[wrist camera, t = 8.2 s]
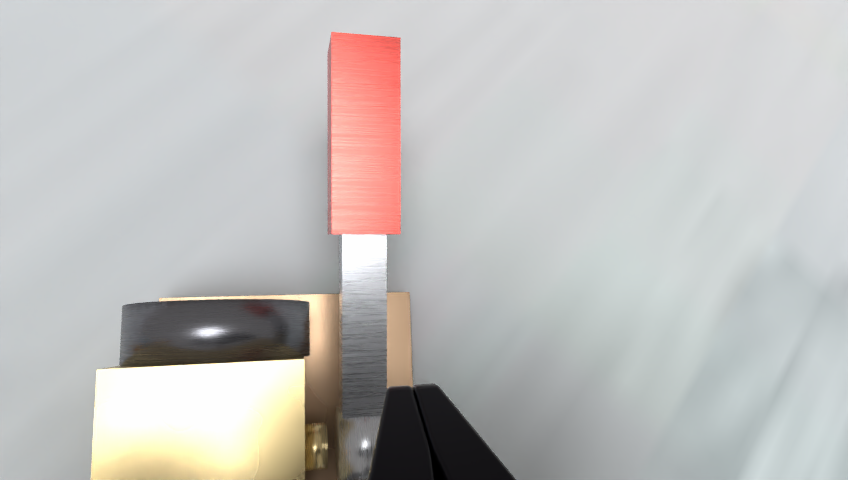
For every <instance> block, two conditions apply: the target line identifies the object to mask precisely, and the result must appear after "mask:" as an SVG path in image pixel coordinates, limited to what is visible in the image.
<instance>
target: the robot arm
mask: <svg viewBox="0 0 848 480" xmlns="http://www.w3.org/2000/svg"><path fill="white" fill-rule="evenodd" d="M368 480H516V479H515V478H514V477H513V475H512V474H511V473H510V472H509V471H508V469H507V468H506V467H505V466H504V465H503V463H502V462H501V461H500V460H499V458H498V457H497V456H496V455H495V454H494V452H493V451H492V450H491V449H490V448H489V446H488V445H487V444H486V443H485V442H484V440H483V439H482V438H481V437H480V436H479V434H478V433H477V432H476V431H475V430H474V428H473V427H472V426H471V425H470V424H469V422H468V421H467V420H466V419H465V417H464V416H463V415H462V414H461V413H460V411H459V410H458V409H457V408H456V407H455V405H454V404H453V403H452V402H451V401H450V399H449V398H448V397H447V396H446V395H445V393H444V392H443V391H442V390H441V389H440V387H439V386H437V385H435V384H421V385H414V386H413V387H412V388H411V387H410V386H408V385H405V386H391V387H388V389H387V391H386V395H385V400H384V405H383V410H382V414H381V419H380V424H379V428H378V433H377V438H376V443H375V447H374V452H373V457H372V462H371V466H370V471H369V476H368Z"/></svg>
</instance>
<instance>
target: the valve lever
mask: <svg viewBox="0 0 848 480" xmlns="http://www.w3.org/2000/svg"><path fill="white" fill-rule="evenodd" d="M328 234H339V313H340V406H339V407H336V412H335V457H336V472H337V480H368V476H369V471H370V466H371V462H372V457H373V452H374V447H375V443H376V438H377V433H378V428H379V424H380V419H381V414H382V410H383V405H384V400H385V395H386V391H387V234H400V38H397V37H385V36H373V35H361V34H349V33H337V32H331V38H330V44H329V50H328Z"/></svg>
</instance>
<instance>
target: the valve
mask: <svg viewBox="0 0 848 480" xmlns="http://www.w3.org/2000/svg"><path fill="white" fill-rule="evenodd" d="M119 365H120V366H115V367H109V368H103V369H97V375H96V393H95V411H94V429H93V447H92V465H91V480H337V472H336V457H335V412H336V407H339V406H340V313H339V294H310V295H269V296H227V297H186V298H159V302H145V303H135V304H128V305H123V306H122V323H121V343H120V364H119ZM405 385H408V386H410V387H411V388H412V387H413V379H412V351H411V323H410V295H409V292H394V293H387V389H388V387H391V386H405Z"/></svg>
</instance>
